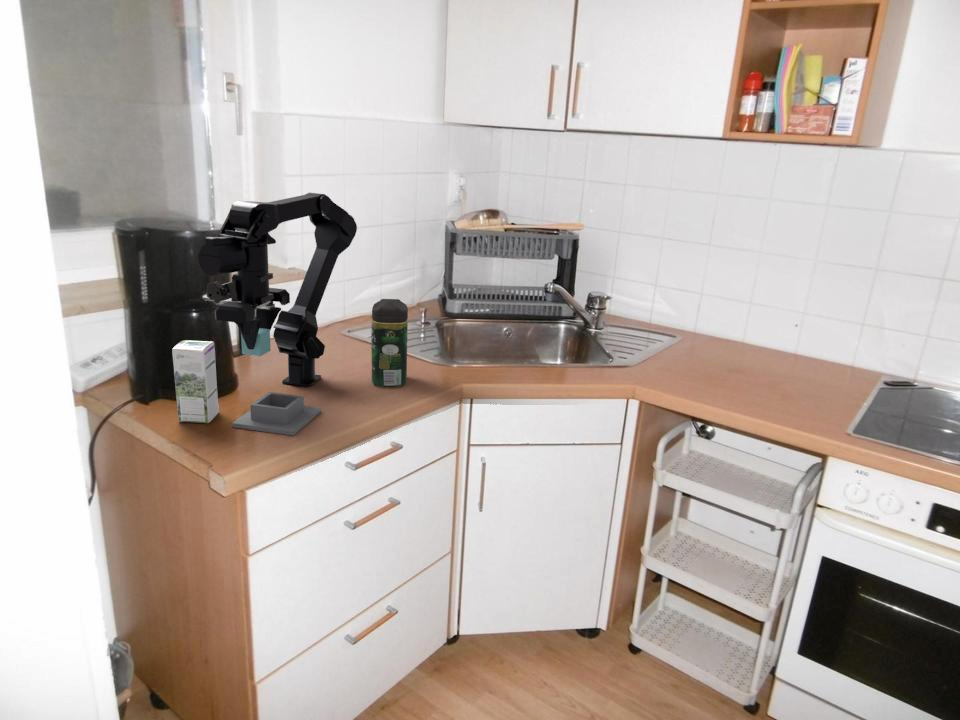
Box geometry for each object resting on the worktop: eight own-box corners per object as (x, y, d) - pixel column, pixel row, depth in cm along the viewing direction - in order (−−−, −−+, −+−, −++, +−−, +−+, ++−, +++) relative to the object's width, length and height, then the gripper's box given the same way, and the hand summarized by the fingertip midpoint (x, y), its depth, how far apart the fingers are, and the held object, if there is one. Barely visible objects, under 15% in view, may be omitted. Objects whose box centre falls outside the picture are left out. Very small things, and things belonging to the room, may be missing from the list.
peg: (270, 350, 137) (269, 329, 135) (260, 356, 133) (259, 334, 131) (252, 348, 137) (251, 327, 136) (242, 353, 133) (240, 332, 132)
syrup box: (219, 412, 130) (215, 340, 125) (208, 424, 124) (203, 349, 120) (189, 410, 130) (184, 338, 125) (177, 423, 124) (170, 347, 120)
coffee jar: (372, 374, 156) (372, 295, 150) (406, 375, 157) (408, 296, 151) (369, 389, 147) (370, 305, 141) (406, 389, 147) (408, 307, 142)
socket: (264, 404, 135) (263, 386, 134) (321, 411, 133) (320, 393, 132) (232, 427, 124) (231, 407, 123) (293, 435, 122) (293, 416, 121)
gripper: (239, 257, 140) (243, 330, 145) (185, 273, 122) (191, 354, 127) (290, 262, 138) (292, 336, 143) (242, 278, 121) (246, 361, 125)
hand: (256, 346), depth 135 cm, fingers closed on peg, 4 cm apart
